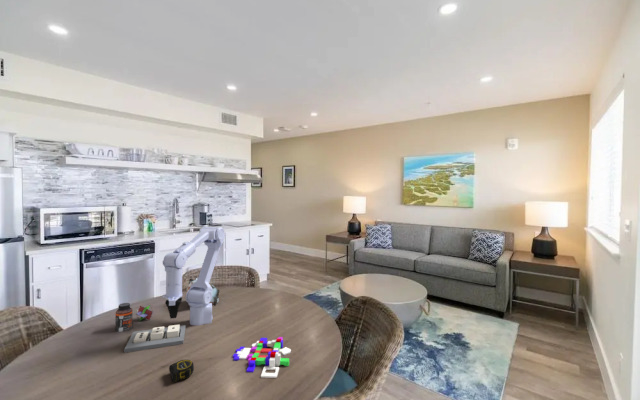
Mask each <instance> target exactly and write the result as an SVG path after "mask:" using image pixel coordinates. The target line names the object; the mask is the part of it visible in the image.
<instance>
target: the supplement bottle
mask: <svg viewBox="0 0 640 400" xmlns="http://www.w3.org/2000/svg"><path fill="white" fill-rule="evenodd" d="M114 321H115V323H114V324H115V325H114V330H115V331H116V332H120V333H121V332H126V331H128V330H131V329H132V328H133V308H132V307H131V303H130V302H122V303H120V304H118V307H117V310H115V320H114Z"/></svg>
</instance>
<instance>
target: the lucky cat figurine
mask: <svg viewBox="0 0 640 400" xmlns="http://www.w3.org/2000/svg"><path fill="white" fill-rule="evenodd" d="M197 280H198V277H196V278H195V279H192V278H189V280H188V281H189V282H188V286H187V288H186V293H187V292H188V290H189V289H190V286H191V285H192V284H193V283H195V282H196V281H197ZM209 284H210V286H211V287H212V288H213V291H212V299H211V301H210V303H212V307H213V305H214V306H215V305H217V304H218V303H219V301H220V297H219V295H220V289H219V288H217V287H216V286H215V285H213V284H211V283H209ZM200 290H204V289H200Z"/></svg>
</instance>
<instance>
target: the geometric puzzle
mask: <svg viewBox="0 0 640 400" xmlns="http://www.w3.org/2000/svg"><path fill="white" fill-rule="evenodd" d="M144 306H145V305H140V306H139V307H138V308H137V311H136V313H135V315H136V317H138V316H139V317H140V318H139V319H138V322H141V321H144V320H145V319H146V320H147V321H150V320H151V318H152V316H153V314H154V311H153V310H152V309H153V308H152V306H151V304H148V306H147V305H146V306H145V307H144ZM150 308H151V309H150Z"/></svg>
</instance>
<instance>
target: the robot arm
mask: <svg viewBox="0 0 640 400" xmlns="http://www.w3.org/2000/svg"><path fill="white" fill-rule="evenodd" d="M225 237H226V232H225V230H224V228H223V227H222V226H219V227H218V226H206V225H204V226H202V227H201V228H199V232H198V233H197V235H195V236H194V237H193V238H192V239H191V240H190V241H184V242H182V244H181V245H180V246H178V248H176V249H174V251H173V252H169V253H167V254H166V255H165V256H164V257H163V260H162V265H163V266H164V271H165V294H163V295H162V299H164V298H165V299H166V300H165V302H164V304H165V305H166V307H167V309H168V314H169V318H170V319H177V317H178V313H179V312H178V311H179V309H180V306H181V303H182V300H183V267H184V266H185V265H186V263H187V261H188V259H189V258H190V257H192V255H193V254H195V252H196V249H197V247H199V246H200V245H201V244H203V243H204V245H205V246H206V247H207V251H206V254H205V257H204V259H203V263H202V265H201V269H200V271H199V273H198V277H197V278H198V280H197V281H196V282H195V283H193V284H192V285H191V286H190V289H189V290H188V292H187V291H186V294H185V301H186V303H188V306H189V324H190V325H191V326H202V325H208V324H212V323H213V321H212V320H213V317H214V316H213V306H212V303H210V301H211V299H212V291H213V288H212V287H211V286H210V284H211V283H210V282H211V279H212V275H213V273H214V269H215V266H216V262H217V259H218V257H219V253H220V250H221V247H222V246H223V242H224V239H225ZM200 289H204V290H200Z"/></svg>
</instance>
